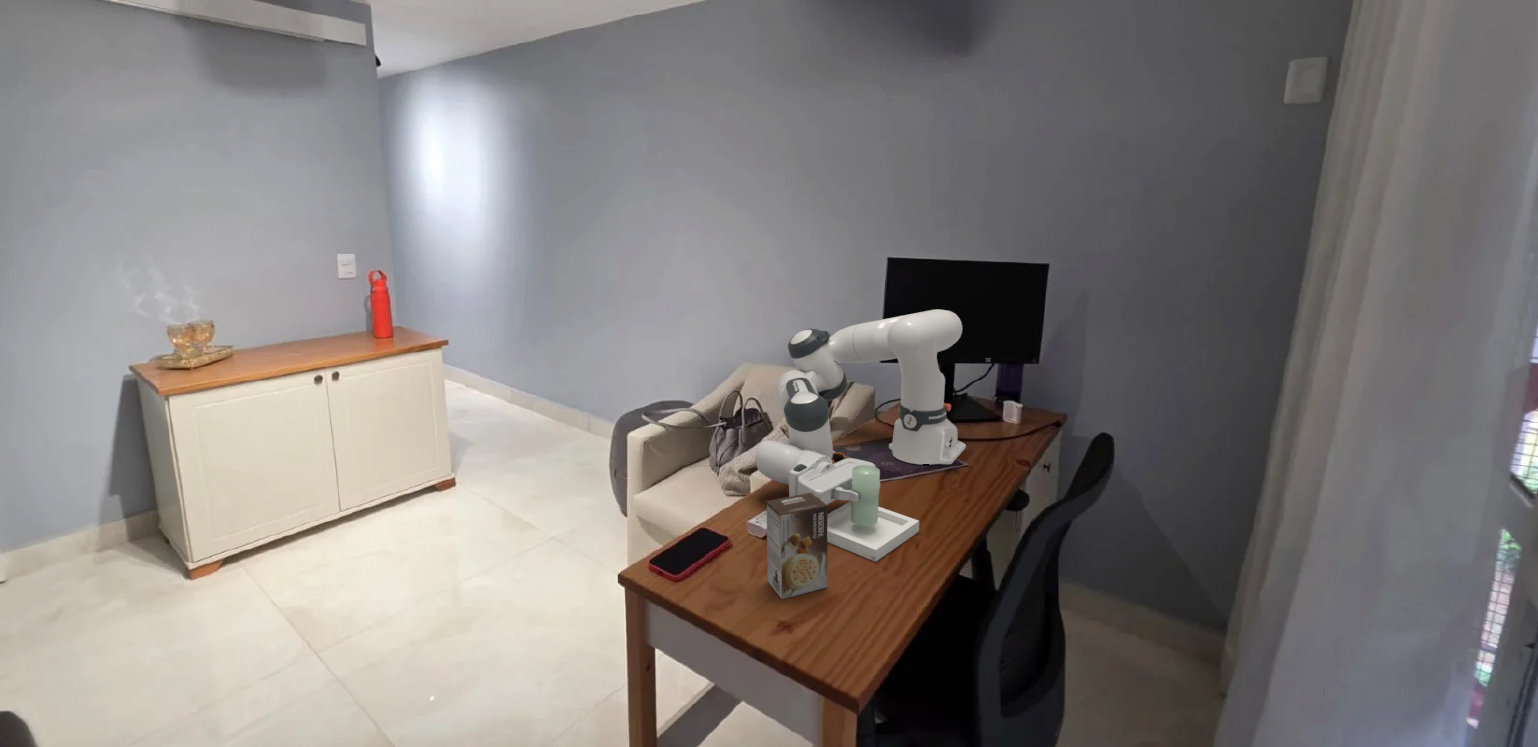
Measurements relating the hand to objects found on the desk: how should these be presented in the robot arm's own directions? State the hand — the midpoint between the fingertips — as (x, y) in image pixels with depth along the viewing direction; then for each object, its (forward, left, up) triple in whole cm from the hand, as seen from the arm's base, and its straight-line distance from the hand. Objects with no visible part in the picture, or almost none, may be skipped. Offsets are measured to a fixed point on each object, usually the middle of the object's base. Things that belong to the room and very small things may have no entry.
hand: (868, 491), depth 135 cm
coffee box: (+24, +1, -10) cm, 26 cm away
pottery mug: (-19, -21, -10) cm, 30 cm away
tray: (0, -1, -9) cm, 10 cm away
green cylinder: (0, -1, -6) cm, 7 cm away
